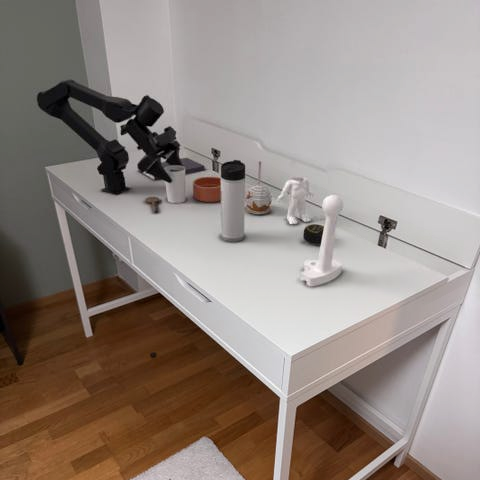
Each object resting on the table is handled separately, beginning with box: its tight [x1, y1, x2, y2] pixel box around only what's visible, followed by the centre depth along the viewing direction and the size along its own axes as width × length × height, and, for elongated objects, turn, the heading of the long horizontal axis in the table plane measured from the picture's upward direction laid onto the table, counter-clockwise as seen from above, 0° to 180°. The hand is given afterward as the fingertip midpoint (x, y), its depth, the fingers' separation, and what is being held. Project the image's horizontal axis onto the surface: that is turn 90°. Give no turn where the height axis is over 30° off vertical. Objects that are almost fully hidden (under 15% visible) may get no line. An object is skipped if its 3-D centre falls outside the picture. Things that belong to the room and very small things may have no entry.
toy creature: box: [276, 176, 314, 225], centre depth 134 cm, size 12×6×12 cm, turn 116°
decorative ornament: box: [245, 160, 273, 215], centre depth 139 cm, size 8×8×15 cm
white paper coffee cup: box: [164, 165, 186, 204], centre depth 146 cm, size 7×7×10 cm
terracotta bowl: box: [192, 176, 221, 203], centre depth 150 cm, size 11×11×5 cm
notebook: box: [138, 157, 206, 181], centre depth 173 cm, size 13×2×21 cm
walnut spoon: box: [144, 196, 161, 214], centre depth 144 cm, size 12×4×1 cm, turn 15°
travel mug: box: [220, 159, 246, 243], centre depth 122 cm, size 6×7×20 cm
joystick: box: [300, 194, 344, 288], centre depth 105 cm, size 11×8×20 cm
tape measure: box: [302, 223, 324, 246], centre depth 125 cm, size 7×7×4 cm
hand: (178, 177), depth 145 cm, fingers open, 9 cm apart
